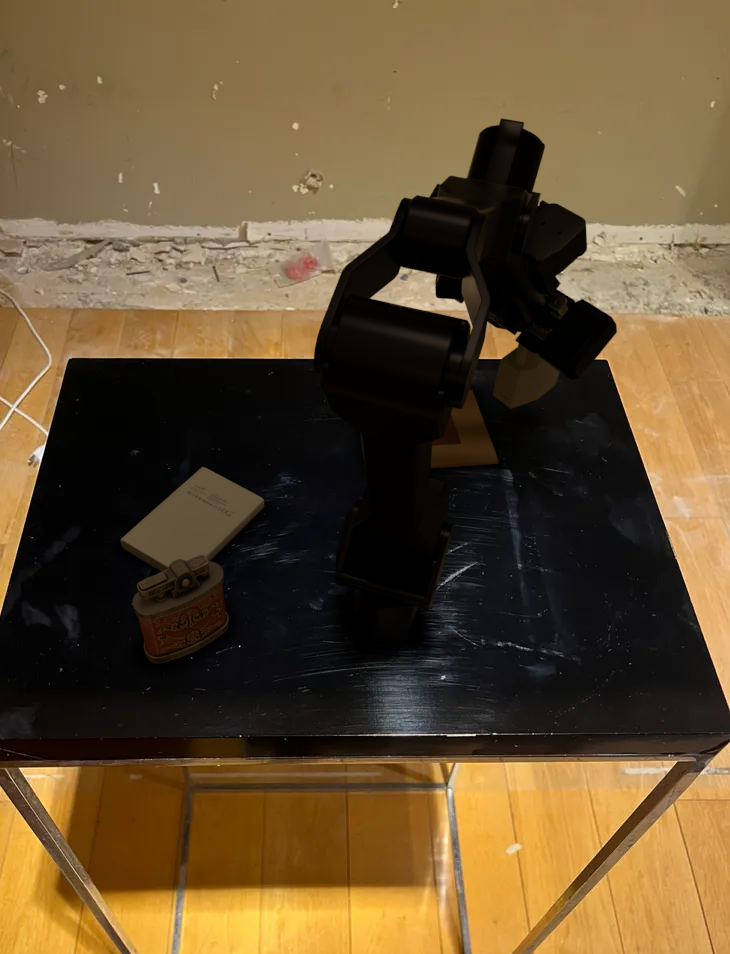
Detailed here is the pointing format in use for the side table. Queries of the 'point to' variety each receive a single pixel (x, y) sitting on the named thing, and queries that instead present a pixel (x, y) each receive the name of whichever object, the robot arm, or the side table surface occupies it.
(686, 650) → the side table surface
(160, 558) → the hard drive
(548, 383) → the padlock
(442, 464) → the board
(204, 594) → the lighter
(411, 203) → the robot arm
